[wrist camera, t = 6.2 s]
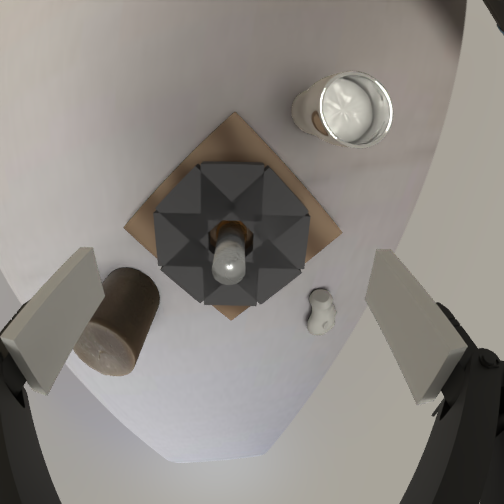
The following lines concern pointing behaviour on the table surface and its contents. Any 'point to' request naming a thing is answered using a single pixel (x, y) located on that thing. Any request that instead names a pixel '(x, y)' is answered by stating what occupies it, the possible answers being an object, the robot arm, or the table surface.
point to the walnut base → (235, 150)
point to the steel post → (229, 252)
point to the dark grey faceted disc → (231, 209)
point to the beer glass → (345, 110)
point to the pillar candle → (119, 323)
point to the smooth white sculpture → (321, 312)
